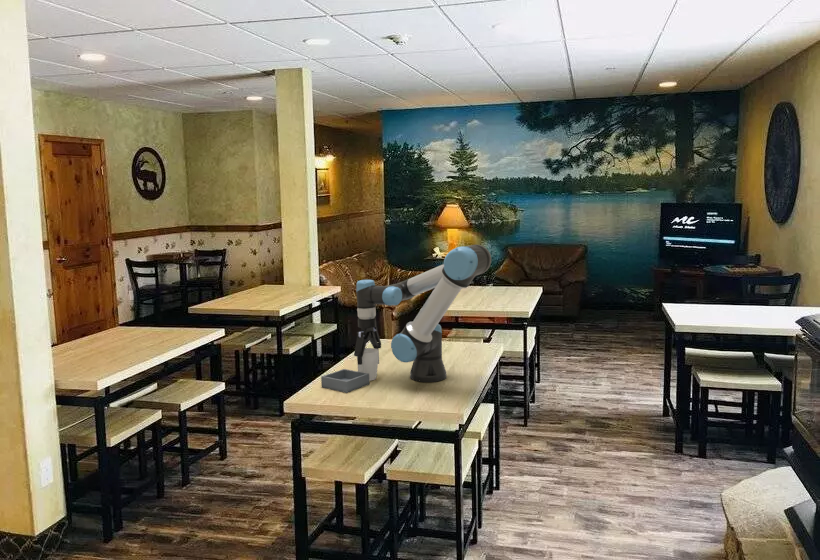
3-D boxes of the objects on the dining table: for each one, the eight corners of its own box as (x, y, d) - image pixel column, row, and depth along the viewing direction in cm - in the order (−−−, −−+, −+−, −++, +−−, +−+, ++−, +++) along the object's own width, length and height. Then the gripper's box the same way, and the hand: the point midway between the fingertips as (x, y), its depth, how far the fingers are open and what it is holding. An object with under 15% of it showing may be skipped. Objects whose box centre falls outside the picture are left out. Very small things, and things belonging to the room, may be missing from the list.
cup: (376, 382, 277) (375, 353, 275) (354, 381, 278) (354, 352, 277) (381, 376, 285) (380, 348, 284) (360, 375, 287) (360, 347, 286)
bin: (369, 384, 273) (369, 373, 273) (346, 392, 263) (346, 381, 262) (344, 379, 282) (344, 368, 281) (321, 387, 271) (321, 376, 270)
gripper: (372, 311, 291) (374, 359, 294) (344, 322, 268) (346, 374, 271) (387, 312, 288) (389, 361, 291) (360, 323, 265) (363, 376, 268)
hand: (368, 367), depth 281 cm, fingers open, 13 cm apart
